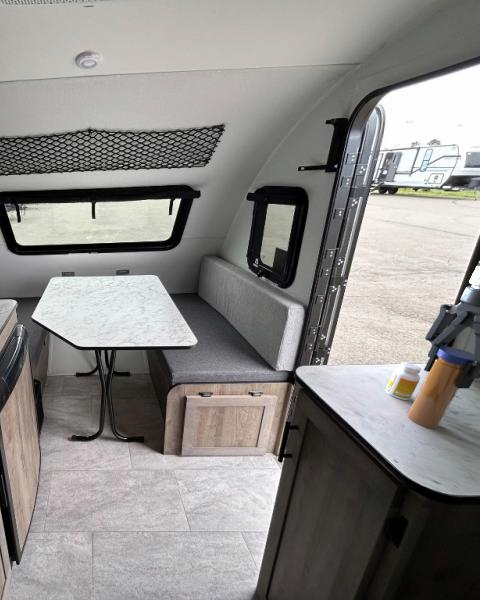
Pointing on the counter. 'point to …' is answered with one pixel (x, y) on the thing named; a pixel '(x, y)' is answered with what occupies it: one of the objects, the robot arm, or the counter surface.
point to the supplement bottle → (404, 381)
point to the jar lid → (455, 355)
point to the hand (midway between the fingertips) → (445, 378)
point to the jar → (436, 393)
